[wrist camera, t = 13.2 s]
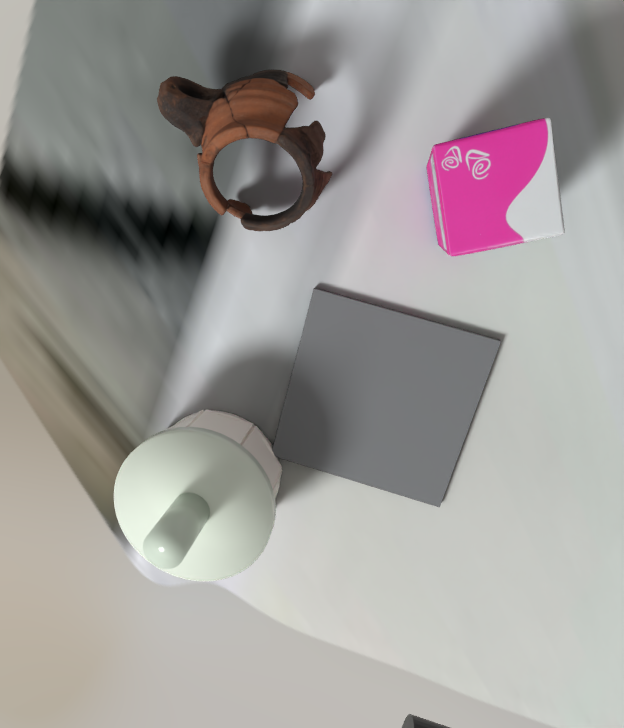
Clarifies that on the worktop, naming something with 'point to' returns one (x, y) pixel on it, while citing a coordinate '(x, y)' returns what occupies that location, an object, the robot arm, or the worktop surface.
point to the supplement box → (495, 189)
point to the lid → (195, 504)
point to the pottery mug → (247, 133)
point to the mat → (382, 396)
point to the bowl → (239, 438)
